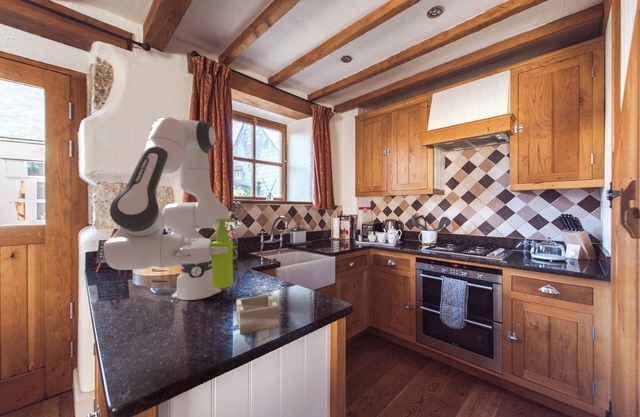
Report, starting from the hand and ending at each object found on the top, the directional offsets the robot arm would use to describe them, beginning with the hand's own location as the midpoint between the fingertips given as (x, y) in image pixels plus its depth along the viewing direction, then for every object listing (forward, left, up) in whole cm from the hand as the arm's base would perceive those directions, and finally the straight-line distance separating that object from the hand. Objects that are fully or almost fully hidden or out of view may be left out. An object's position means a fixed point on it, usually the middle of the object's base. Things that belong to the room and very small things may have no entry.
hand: (227, 247), depth 79 cm
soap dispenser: (0, -1, -11) cm, 12 cm away
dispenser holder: (-1, +9, -25) cm, 26 cm away
